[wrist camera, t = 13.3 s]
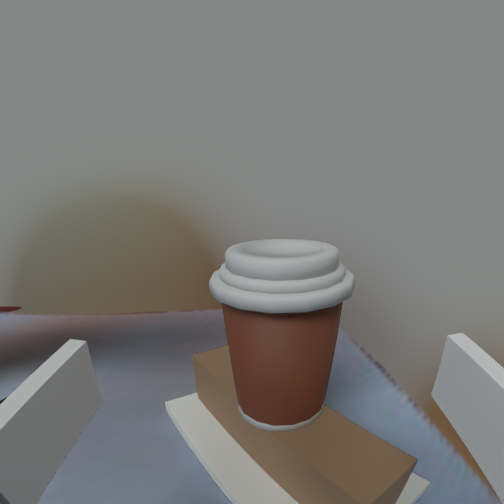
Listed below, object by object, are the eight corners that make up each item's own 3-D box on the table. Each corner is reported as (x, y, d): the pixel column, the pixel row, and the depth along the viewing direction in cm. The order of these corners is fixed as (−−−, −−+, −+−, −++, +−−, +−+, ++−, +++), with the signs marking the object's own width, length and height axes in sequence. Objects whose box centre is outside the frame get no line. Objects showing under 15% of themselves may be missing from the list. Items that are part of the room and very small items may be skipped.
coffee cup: (361, 428, 18) (385, 258, 16) (227, 454, 17) (211, 271, 14) (317, 366, 27) (322, 234, 25) (215, 379, 26) (205, 240, 23)
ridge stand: (166, 412, 30) (156, 358, 29) (259, 381, 37) (258, 330, 35) (313, 585, 10) (330, 554, 9) (424, 492, 17) (454, 436, 15)
